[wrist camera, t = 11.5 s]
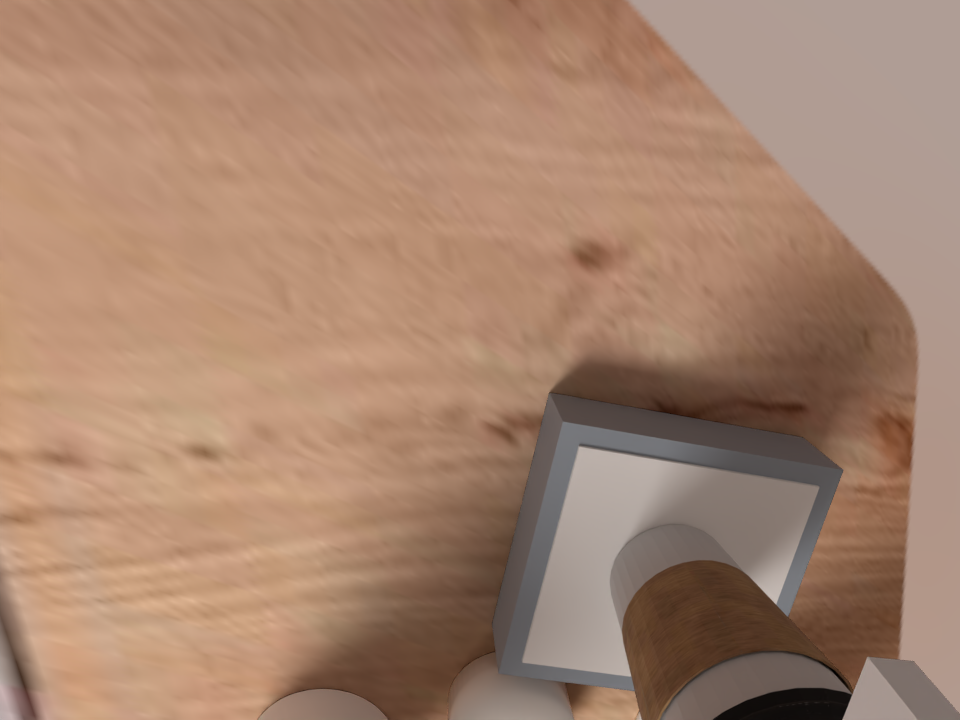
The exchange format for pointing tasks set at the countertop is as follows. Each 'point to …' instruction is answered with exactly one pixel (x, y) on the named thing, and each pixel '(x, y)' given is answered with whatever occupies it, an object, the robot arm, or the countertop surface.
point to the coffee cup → (713, 637)
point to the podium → (644, 524)
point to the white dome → (505, 695)
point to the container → (322, 707)
